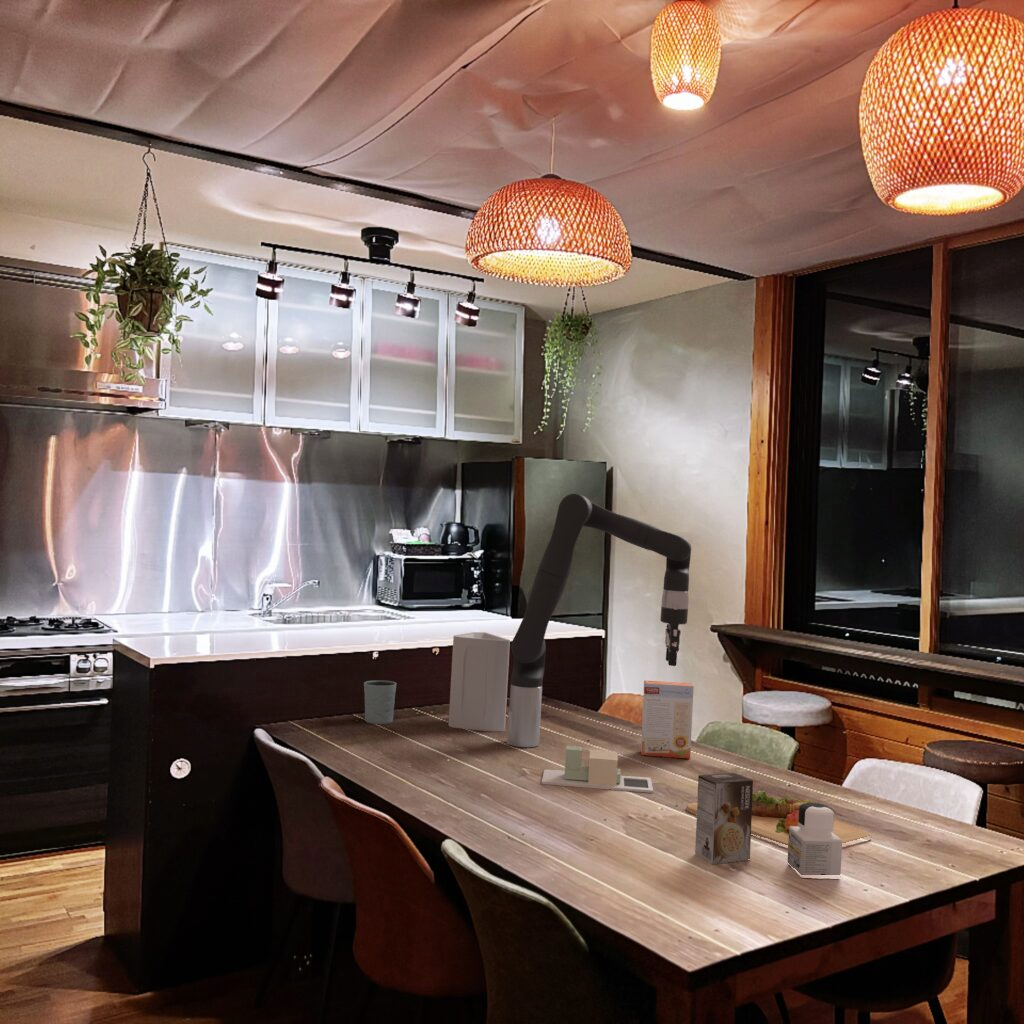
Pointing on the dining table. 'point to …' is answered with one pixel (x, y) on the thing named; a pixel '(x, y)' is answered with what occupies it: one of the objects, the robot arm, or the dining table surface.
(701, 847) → the coffee box
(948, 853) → the dining table surface
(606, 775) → the white base plate
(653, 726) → the cracker box
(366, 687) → the grey green cup
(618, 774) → the sage green stepped block
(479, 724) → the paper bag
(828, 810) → the container
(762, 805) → the cutting board
